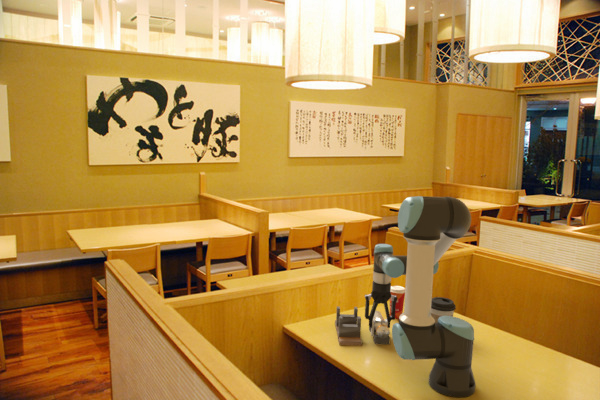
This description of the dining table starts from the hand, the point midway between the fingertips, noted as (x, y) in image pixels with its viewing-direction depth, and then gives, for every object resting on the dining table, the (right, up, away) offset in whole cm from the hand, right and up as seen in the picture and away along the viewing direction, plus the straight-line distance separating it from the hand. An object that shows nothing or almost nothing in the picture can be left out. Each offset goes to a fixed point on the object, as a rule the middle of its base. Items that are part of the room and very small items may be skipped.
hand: (378, 334), depth 201 cm
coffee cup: (+27, -1, +4) cm, 27 cm away
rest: (0, -1, 0) cm, 1 cm away
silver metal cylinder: (0, +2, 0) cm, 2 cm away
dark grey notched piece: (-13, 0, +2) cm, 13 cm away
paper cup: (+12, +2, +23) cm, 26 cm away
